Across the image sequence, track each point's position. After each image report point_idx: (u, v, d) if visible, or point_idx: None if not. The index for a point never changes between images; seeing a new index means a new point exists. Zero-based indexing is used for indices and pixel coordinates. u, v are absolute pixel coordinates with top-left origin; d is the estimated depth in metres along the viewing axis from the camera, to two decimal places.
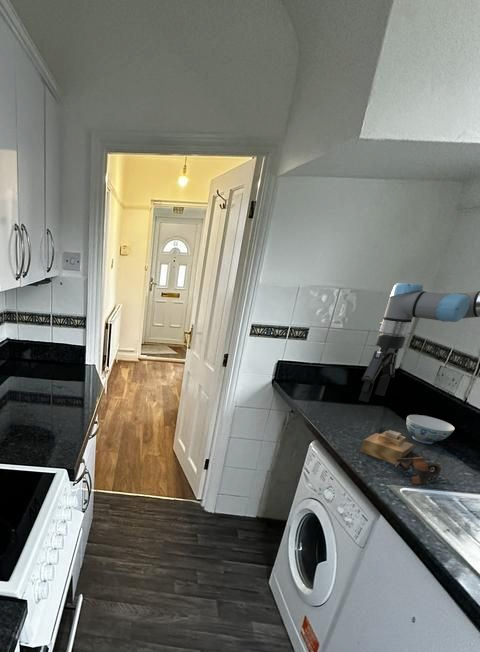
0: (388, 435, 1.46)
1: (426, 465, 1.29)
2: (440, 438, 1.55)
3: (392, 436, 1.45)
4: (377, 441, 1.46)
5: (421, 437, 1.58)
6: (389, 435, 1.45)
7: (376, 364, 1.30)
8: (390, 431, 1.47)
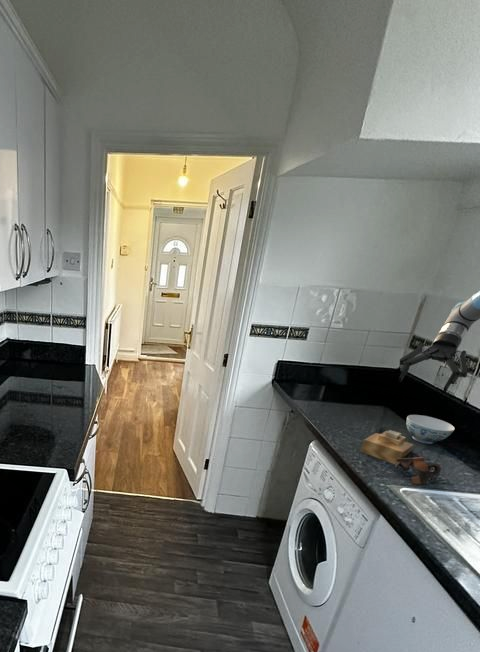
0: (388, 435, 1.46)
1: (426, 465, 1.29)
2: (440, 438, 1.55)
3: (392, 436, 1.45)
4: (377, 441, 1.46)
5: (421, 437, 1.58)
6: (389, 435, 1.45)
7: None
8: (390, 431, 1.47)
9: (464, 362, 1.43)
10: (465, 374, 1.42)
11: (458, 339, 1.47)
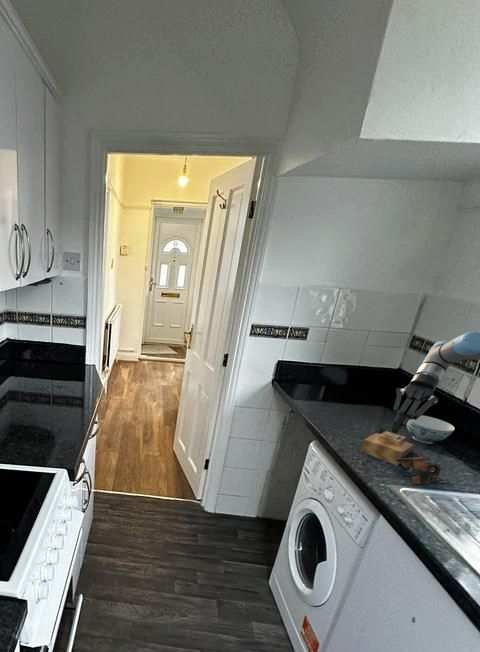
0: None
1: (426, 465, 1.29)
2: (440, 438, 1.55)
3: None
4: (377, 441, 1.46)
5: (421, 437, 1.58)
6: None
7: (396, 398, 1.50)
8: (389, 433, 1.47)
9: (424, 406, 1.44)
10: (414, 416, 1.44)
11: (434, 380, 1.45)
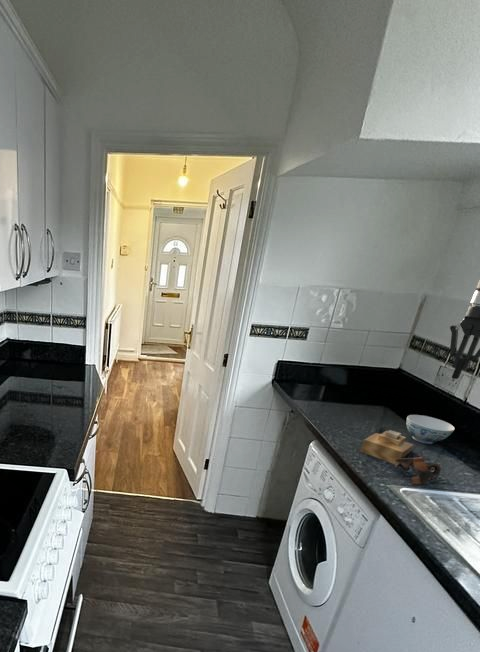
0: (388, 435, 1.46)
1: (426, 465, 1.29)
2: (440, 438, 1.55)
3: (392, 436, 1.45)
4: (377, 441, 1.46)
5: (421, 437, 1.58)
6: (389, 435, 1.45)
7: None
8: (390, 431, 1.47)
9: None
10: (474, 358, 1.35)
11: None
